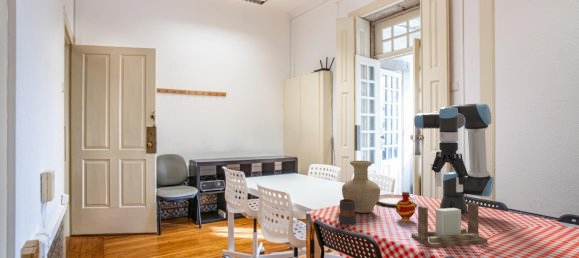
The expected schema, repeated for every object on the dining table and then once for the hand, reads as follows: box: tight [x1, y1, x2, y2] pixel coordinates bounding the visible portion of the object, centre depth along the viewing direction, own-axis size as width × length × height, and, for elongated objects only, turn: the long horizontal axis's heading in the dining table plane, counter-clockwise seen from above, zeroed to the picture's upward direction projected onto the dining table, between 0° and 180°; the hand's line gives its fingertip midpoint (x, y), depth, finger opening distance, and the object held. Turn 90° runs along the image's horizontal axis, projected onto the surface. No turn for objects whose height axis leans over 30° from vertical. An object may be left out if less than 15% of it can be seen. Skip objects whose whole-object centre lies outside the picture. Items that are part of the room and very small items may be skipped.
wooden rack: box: [411, 202, 488, 249], centre depth 145 cm, size 28×14×16 cm, turn 103°
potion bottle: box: [395, 191, 417, 222], centre depth 176 cm, size 10×10×15 cm
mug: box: [338, 198, 356, 226], centre depth 173 cm, size 9×12×12 cm
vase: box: [341, 160, 381, 214], centre depth 194 cm, size 22×22×30 cm
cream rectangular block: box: [434, 208, 462, 236], centre depth 145 cm, size 10×4×12 cm, turn 103°
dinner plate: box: [377, 193, 417, 207], centre depth 217 cm, size 27×27×3 cm
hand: (448, 189), depth 146 cm, fingers open, 13 cm apart
